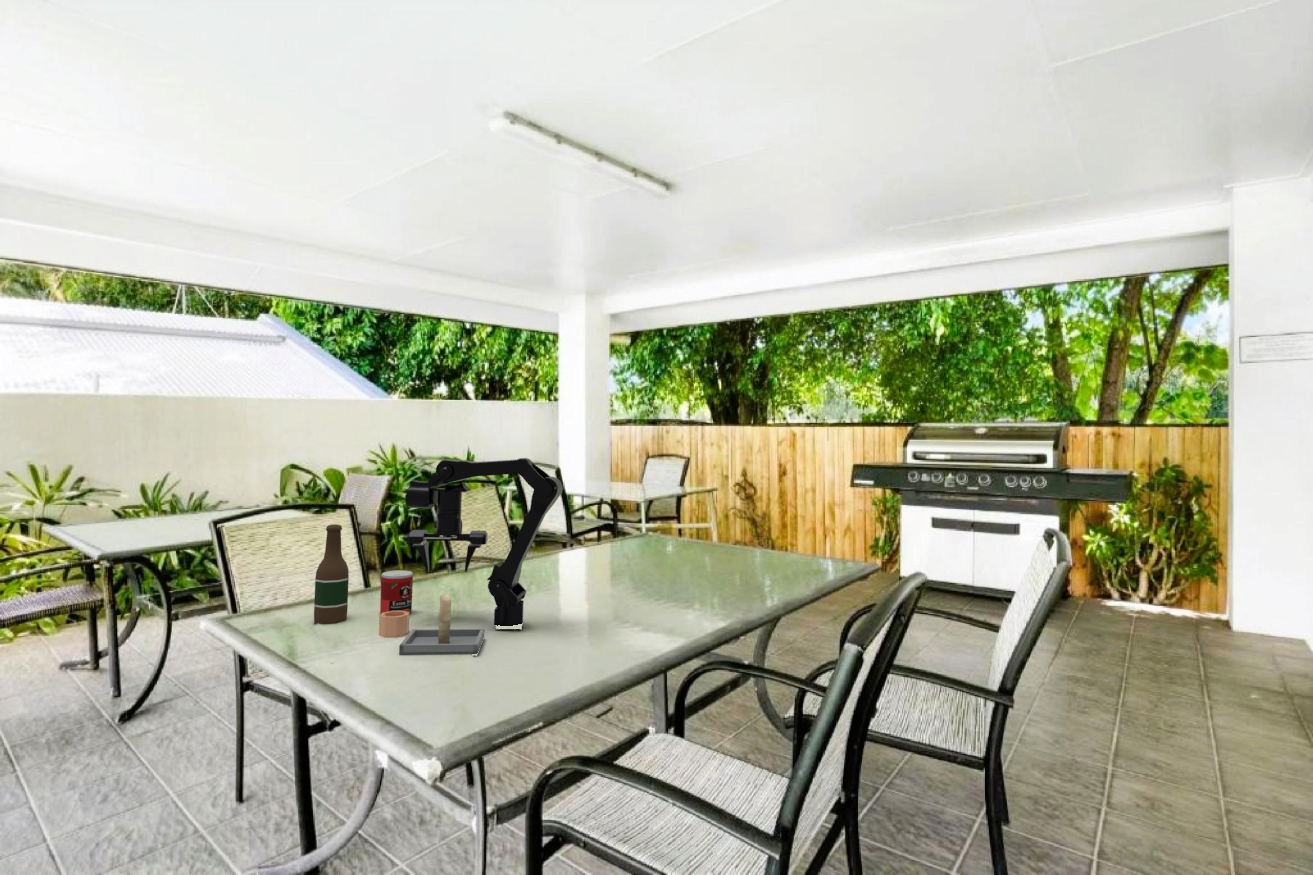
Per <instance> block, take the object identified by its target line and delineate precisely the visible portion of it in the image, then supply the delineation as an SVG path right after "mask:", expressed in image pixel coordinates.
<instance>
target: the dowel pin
mask: <svg viewBox="0 0 1313 875" xmlns="http://www.w3.org/2000/svg"><path fill="white" fill-rule="evenodd" d="M438 610H439V612H438V618H439V619H438V629H439V635H438V644H449V643H450V629H451V619H452V618H451V615H452V614H451V612H452V594H441V595H439V609H438Z"/></svg>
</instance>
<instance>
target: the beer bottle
mask: <svg viewBox="0 0 1313 875" xmlns="http://www.w3.org/2000/svg"><path fill="white" fill-rule="evenodd" d="M342 530H343V527H342V525H341V524H329V525H327V526H326V528H325V531H326V539H325V540H326V541H325V549H324V554H323V559H322V560H321V562H320V563H319V565H318V566H317V569H316V571H315V578H314V603H313V605H314V606H313V624H314V625H315V626H316V625H332V624H333V625H334V624H339V623H343V622H346V620H347V618H348V607H349V606H348V605H349V604H348V602H349V578H350V576H349V567H348V563H347V561H346V560H345V559H344V557H343V553H342V533H341V532H342Z"/></svg>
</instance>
